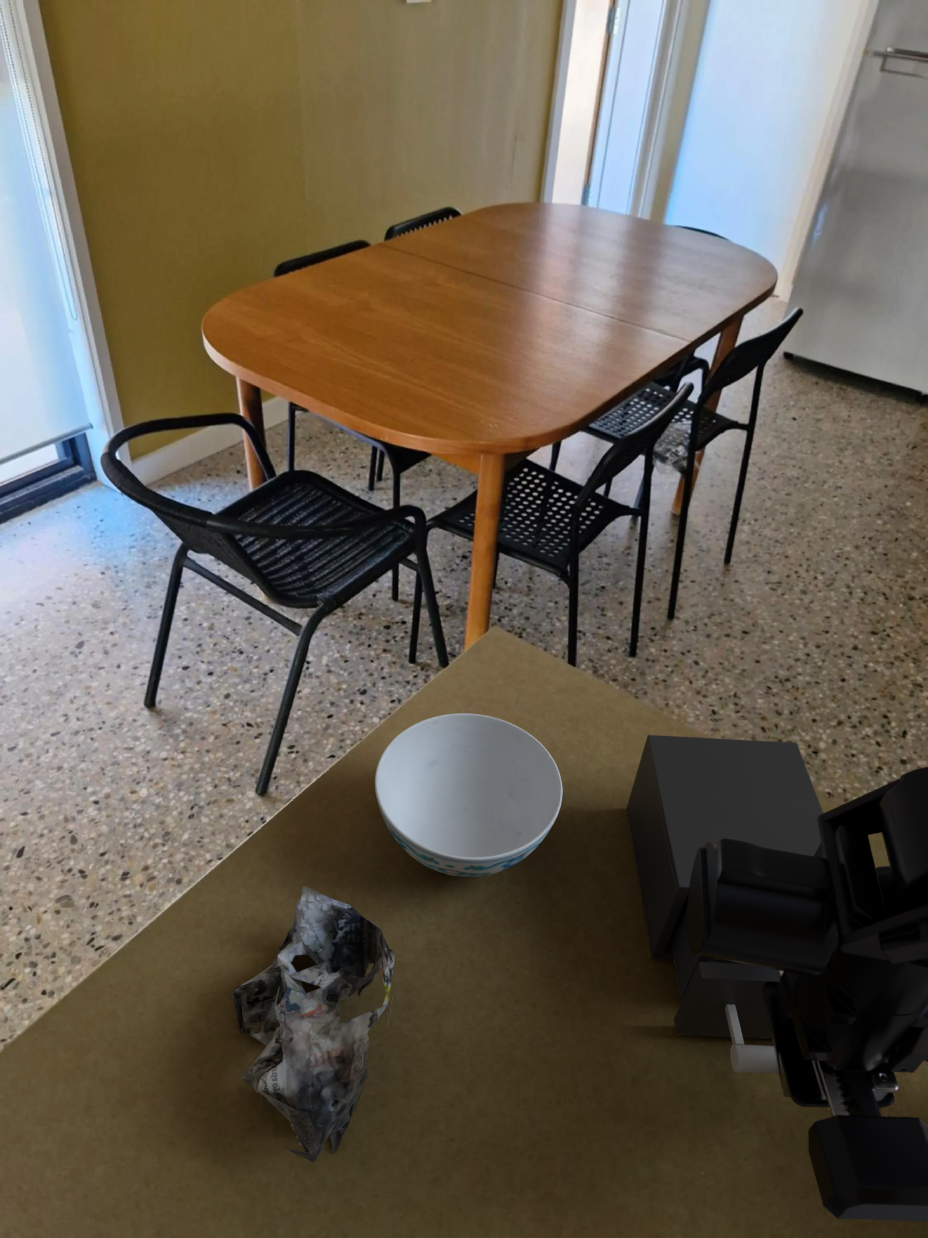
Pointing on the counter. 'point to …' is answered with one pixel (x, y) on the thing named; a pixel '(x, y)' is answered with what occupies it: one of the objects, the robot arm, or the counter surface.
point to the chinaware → (467, 793)
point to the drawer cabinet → (712, 813)
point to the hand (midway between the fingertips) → (790, 1091)
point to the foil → (314, 1020)
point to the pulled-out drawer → (723, 1001)
